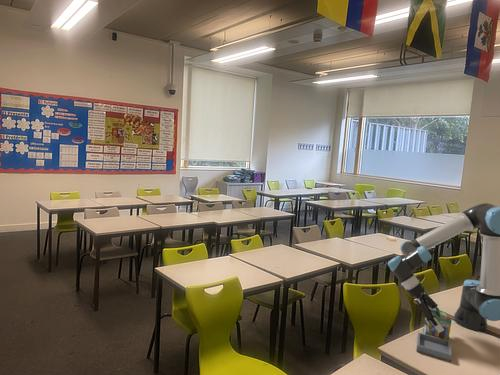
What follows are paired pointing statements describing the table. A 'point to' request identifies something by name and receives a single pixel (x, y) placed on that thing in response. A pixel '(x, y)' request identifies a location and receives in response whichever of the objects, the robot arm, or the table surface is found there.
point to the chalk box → (443, 321)
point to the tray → (434, 346)
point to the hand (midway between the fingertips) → (442, 325)
